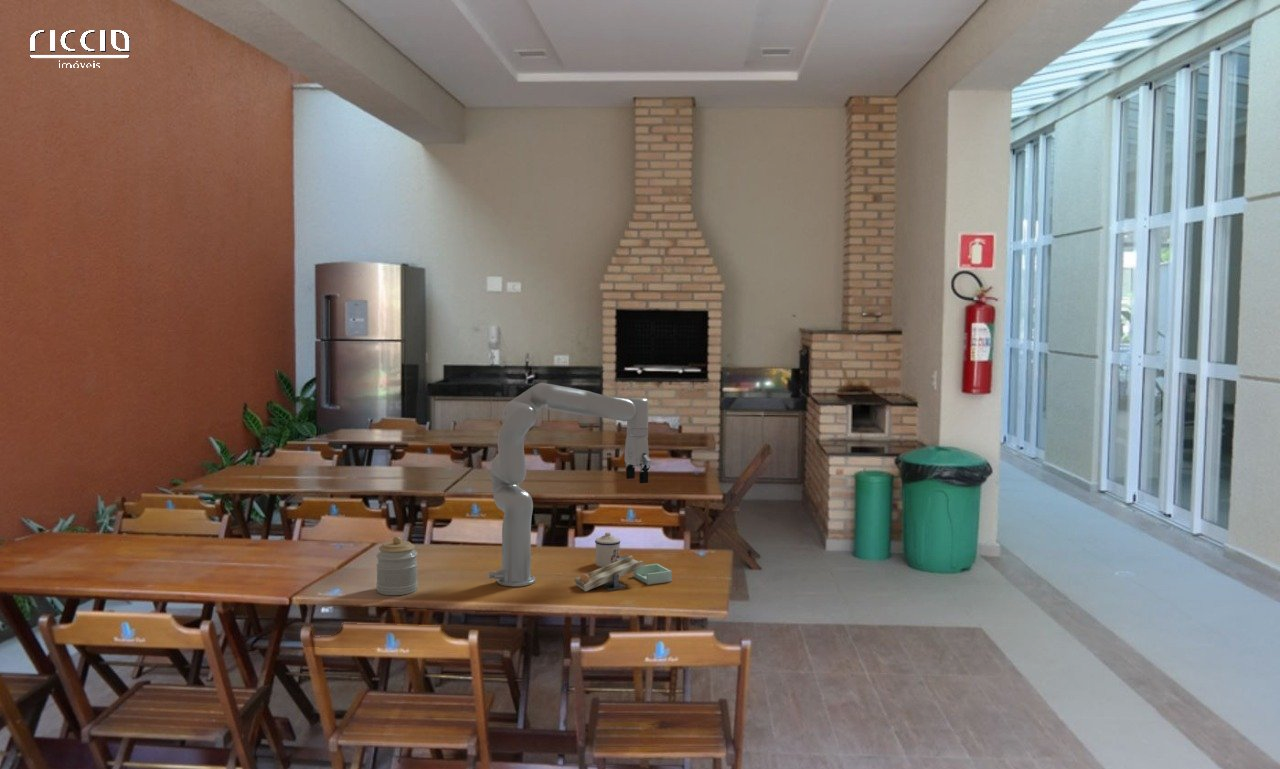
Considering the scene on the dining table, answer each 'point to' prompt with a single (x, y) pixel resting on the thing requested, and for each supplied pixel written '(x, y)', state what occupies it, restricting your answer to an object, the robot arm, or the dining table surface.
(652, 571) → the tray
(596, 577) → the lever
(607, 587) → the fulcrum
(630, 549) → the dining table surface
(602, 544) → the teacup with lid
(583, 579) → the ball
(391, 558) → the jar
